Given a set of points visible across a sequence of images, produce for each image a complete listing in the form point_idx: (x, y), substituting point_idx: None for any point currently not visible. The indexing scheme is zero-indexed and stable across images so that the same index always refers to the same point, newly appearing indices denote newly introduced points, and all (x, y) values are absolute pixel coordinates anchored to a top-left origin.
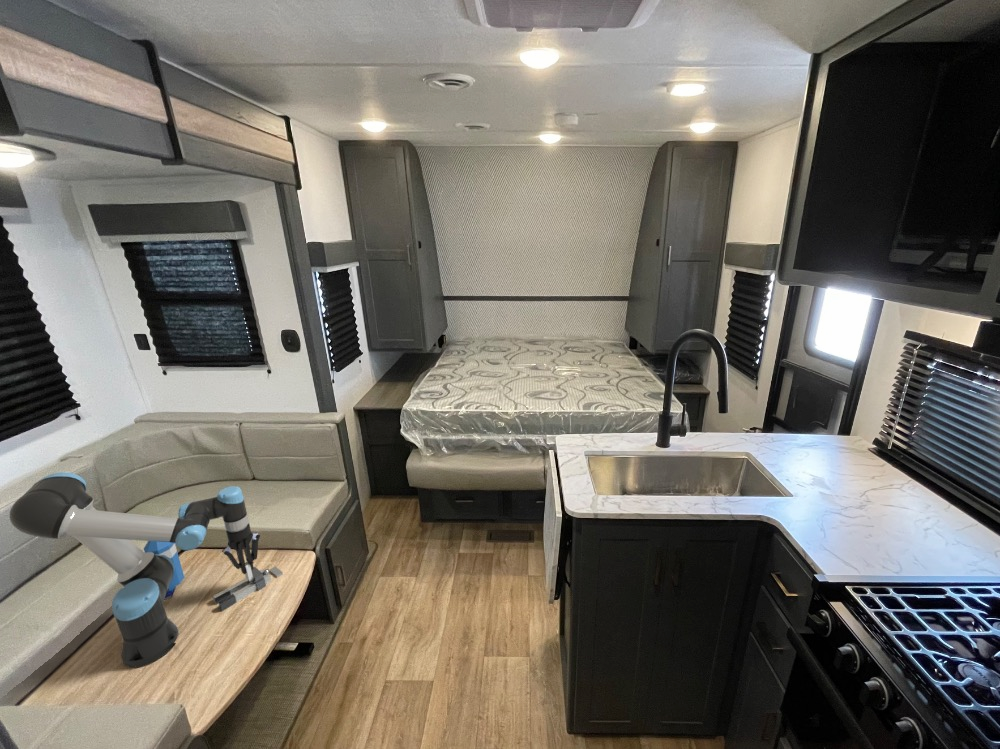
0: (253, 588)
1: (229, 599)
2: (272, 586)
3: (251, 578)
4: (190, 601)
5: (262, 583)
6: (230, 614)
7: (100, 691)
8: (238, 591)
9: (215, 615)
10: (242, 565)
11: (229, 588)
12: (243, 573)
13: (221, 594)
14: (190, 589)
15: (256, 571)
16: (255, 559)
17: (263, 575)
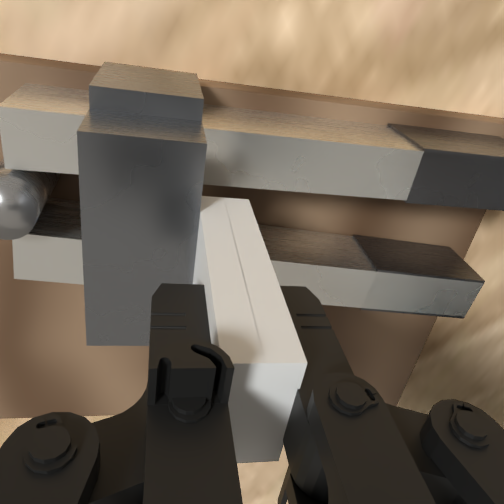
0: (229, 119)
1: (475, 155)
2: (48, 27)
3: (218, 204)
4: (437, 392)
5: (134, 79)
6: (470, 63)
7: None
8: (362, 185)
9: None
10: (389, 432)
11: (361, 292)
12: (317, 301)
13: (436, 280)
14: None
15: (117, 255)
16: (66, 413)
17: (55, 214)
